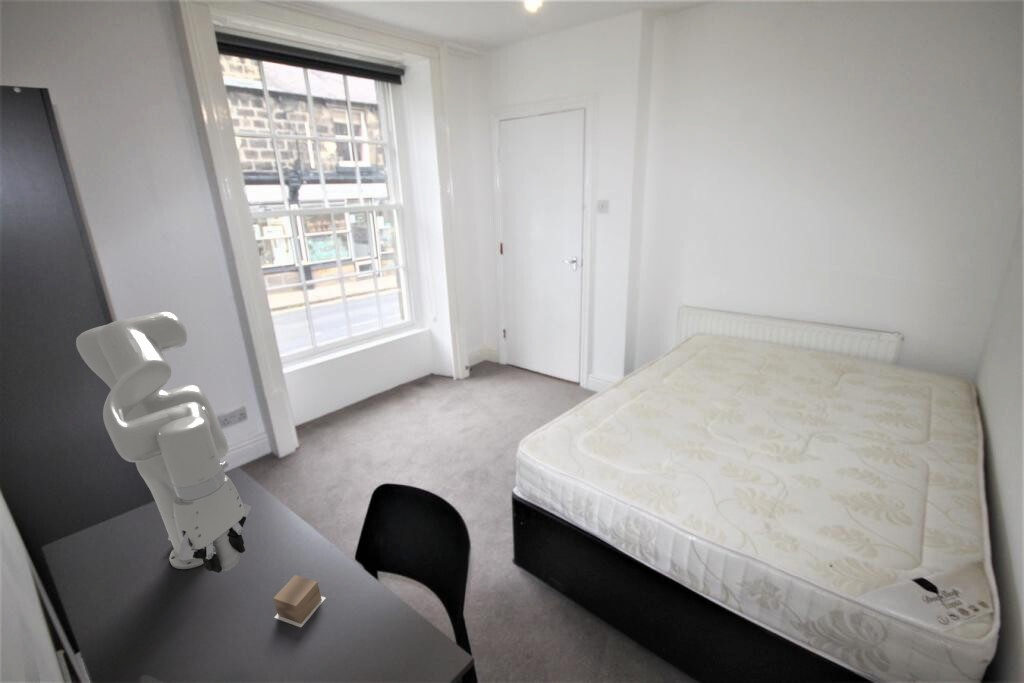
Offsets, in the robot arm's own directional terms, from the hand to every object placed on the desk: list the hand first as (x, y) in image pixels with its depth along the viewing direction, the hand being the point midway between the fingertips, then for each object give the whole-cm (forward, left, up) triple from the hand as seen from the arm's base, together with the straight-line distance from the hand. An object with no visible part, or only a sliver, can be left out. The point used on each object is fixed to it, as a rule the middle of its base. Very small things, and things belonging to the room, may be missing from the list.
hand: (226, 559), depth 88 cm
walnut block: (+9, +6, -16) cm, 19 cm away
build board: (+8, +6, -17) cm, 20 cm away
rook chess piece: (0, 0, -1) cm, 1 cm away
